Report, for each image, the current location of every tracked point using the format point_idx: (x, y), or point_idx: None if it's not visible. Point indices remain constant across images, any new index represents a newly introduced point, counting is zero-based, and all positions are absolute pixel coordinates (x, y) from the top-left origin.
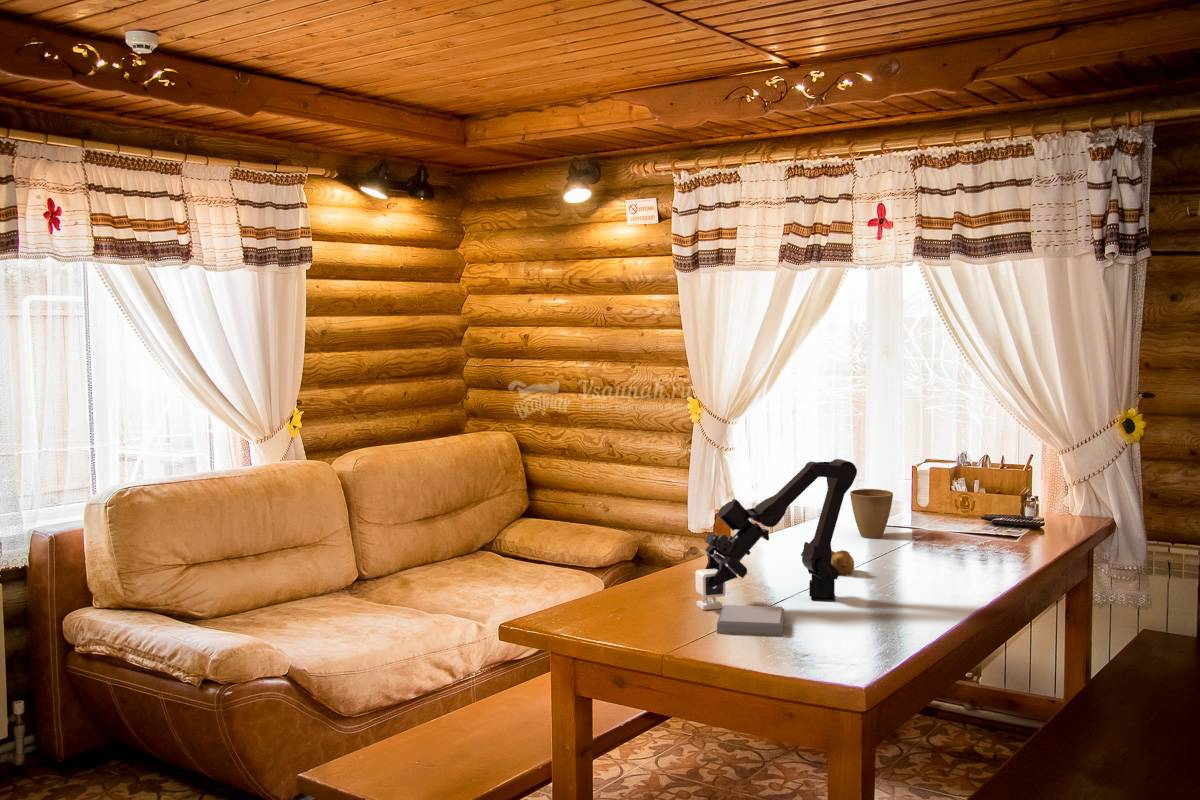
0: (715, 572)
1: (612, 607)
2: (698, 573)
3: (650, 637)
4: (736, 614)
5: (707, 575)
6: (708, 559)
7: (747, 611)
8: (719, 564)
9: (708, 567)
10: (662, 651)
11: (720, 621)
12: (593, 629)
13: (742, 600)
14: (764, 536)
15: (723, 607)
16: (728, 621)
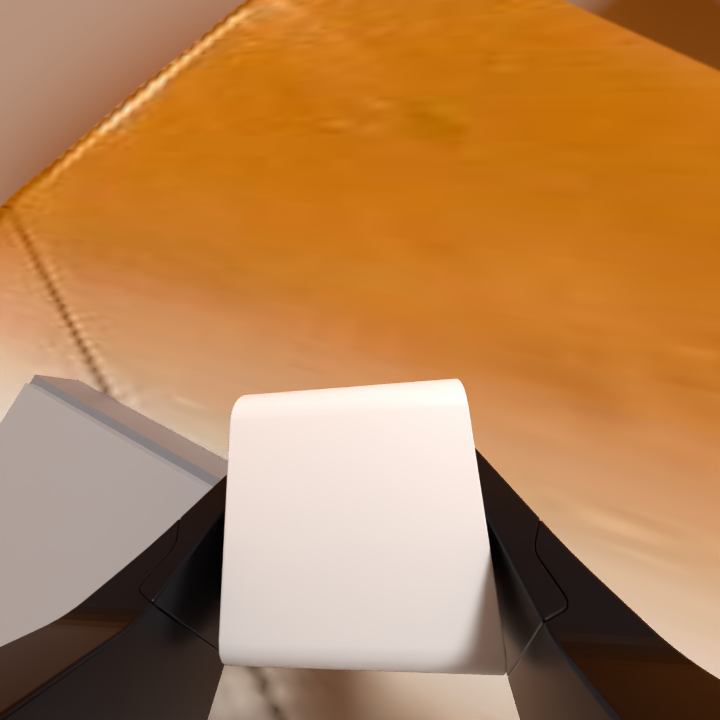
0: (271, 564)
1: (475, 107)
2: (371, 387)
3: (132, 192)
4: (57, 487)
5: (233, 440)
6: (704, 701)
7: (70, 562)
8: (26, 681)
9: (506, 565)
10: (27, 208)
11: (25, 388)
12: (253, 69)
13: (492, 706)
14: None
15: (206, 478)
16: (6, 418)
